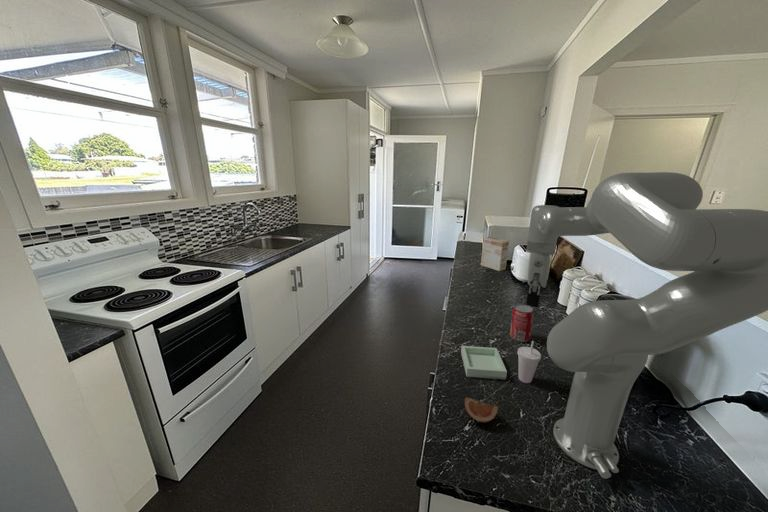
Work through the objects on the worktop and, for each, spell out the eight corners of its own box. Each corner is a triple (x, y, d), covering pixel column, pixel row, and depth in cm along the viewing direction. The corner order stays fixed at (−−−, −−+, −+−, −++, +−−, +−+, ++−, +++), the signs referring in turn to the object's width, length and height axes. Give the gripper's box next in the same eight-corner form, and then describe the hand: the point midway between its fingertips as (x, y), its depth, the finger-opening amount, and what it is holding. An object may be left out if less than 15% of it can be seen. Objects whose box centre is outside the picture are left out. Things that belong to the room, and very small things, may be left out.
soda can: (532, 344, 103) (537, 313, 99) (511, 342, 104) (516, 311, 101) (526, 334, 110) (531, 304, 106) (507, 332, 111) (511, 303, 107)
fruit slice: (497, 412, 74) (499, 397, 73) (495, 433, 68) (498, 417, 67) (465, 402, 77) (466, 388, 76) (461, 421, 71) (463, 406, 70)
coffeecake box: (505, 269, 182) (509, 241, 176) (499, 271, 179) (502, 242, 173) (487, 263, 194) (490, 236, 189) (480, 265, 191) (483, 238, 185)
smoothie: (523, 388, 82) (530, 348, 78) (509, 374, 88) (514, 336, 84) (541, 384, 84) (549, 344, 80) (525, 370, 90) (532, 332, 86)
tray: (505, 379, 86) (507, 371, 85) (466, 376, 87) (467, 368, 86) (495, 355, 97) (496, 348, 96) (460, 352, 98) (461, 345, 98)
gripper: (555, 255, 73) (546, 313, 78) (555, 243, 87) (547, 292, 92) (524, 252, 77) (517, 308, 81) (528, 240, 91) (522, 288, 96)
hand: (533, 299), depth 87 cm, fingers open, 9 cm apart
